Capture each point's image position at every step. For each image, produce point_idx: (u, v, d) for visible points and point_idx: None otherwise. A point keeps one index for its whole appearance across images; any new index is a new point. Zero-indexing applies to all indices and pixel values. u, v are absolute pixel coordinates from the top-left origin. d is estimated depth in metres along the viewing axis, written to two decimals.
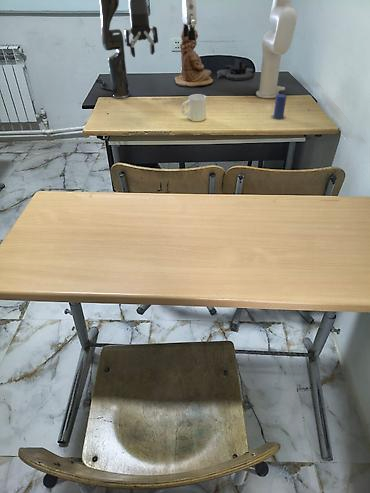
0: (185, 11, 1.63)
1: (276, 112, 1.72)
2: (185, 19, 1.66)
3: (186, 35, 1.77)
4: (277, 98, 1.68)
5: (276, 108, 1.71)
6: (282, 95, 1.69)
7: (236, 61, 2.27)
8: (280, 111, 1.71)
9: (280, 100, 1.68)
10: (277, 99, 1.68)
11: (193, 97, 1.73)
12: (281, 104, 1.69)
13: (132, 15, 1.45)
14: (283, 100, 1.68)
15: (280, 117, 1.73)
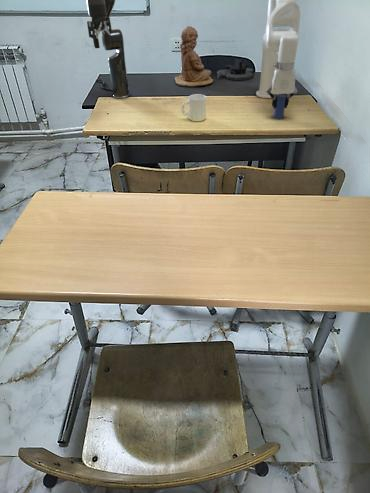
0: None
1: (276, 112, 1.72)
2: None
3: None
4: (277, 98, 1.68)
5: (276, 108, 1.71)
6: (282, 95, 1.69)
7: (236, 61, 2.27)
8: (280, 111, 1.71)
9: (280, 100, 1.68)
10: (277, 99, 1.68)
11: (193, 97, 1.73)
12: (281, 104, 1.69)
13: None
14: (283, 100, 1.68)
15: (280, 117, 1.73)
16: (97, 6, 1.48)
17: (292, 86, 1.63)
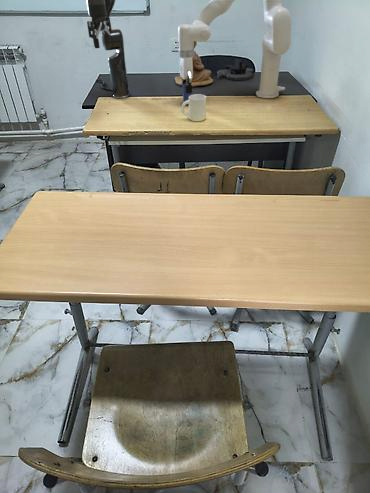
0: None
1: None
2: None
3: None
4: None
5: None
6: None
7: (236, 61, 2.27)
8: (183, 97, 1.91)
9: None
10: None
11: (193, 97, 1.73)
12: (183, 90, 1.88)
13: None
14: (183, 87, 1.87)
15: None
16: (97, 6, 1.48)
17: (183, 73, 1.79)
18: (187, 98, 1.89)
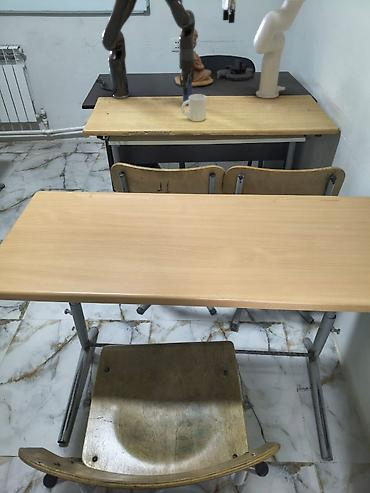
0: None
1: None
2: None
3: None
4: None
5: None
6: None
7: (236, 61, 2.27)
8: (183, 97, 1.91)
9: None
10: None
11: (193, 97, 1.73)
12: None
13: None
14: None
15: None
16: (188, 61, 1.77)
17: (227, 3, 1.92)
18: (187, 98, 1.89)
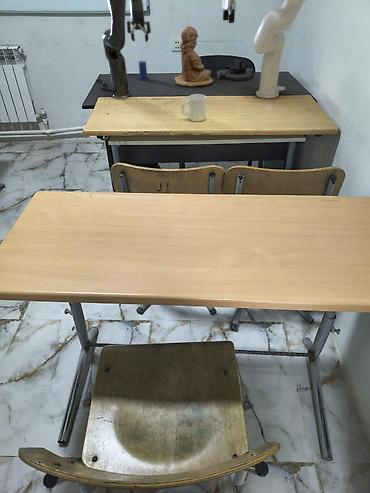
0: None
1: (141, 75, 2.28)
2: None
3: None
4: (139, 64, 2.24)
5: (140, 72, 2.27)
6: (142, 61, 2.26)
7: (236, 61, 2.27)
8: (144, 74, 2.28)
9: (142, 65, 2.24)
10: (140, 65, 2.25)
11: (193, 97, 1.73)
12: (144, 68, 2.26)
13: None
14: (144, 65, 2.25)
15: (145, 78, 2.30)
16: None
17: (227, 3, 1.92)
18: (146, 73, 2.30)
